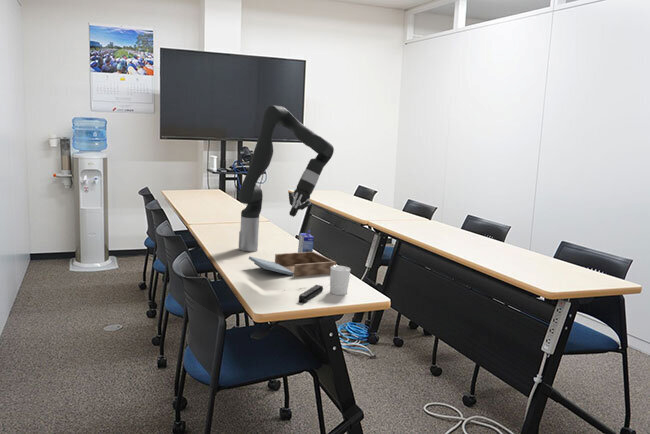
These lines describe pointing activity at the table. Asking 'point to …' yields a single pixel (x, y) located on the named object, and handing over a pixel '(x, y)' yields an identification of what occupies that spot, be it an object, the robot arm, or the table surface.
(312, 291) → the portable electronic device stand
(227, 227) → the table surface
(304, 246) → the ink cartridge box
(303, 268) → the wooden tray
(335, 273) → the white cup
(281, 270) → the blue-grey flat rectangular panel
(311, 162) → the robot arm
